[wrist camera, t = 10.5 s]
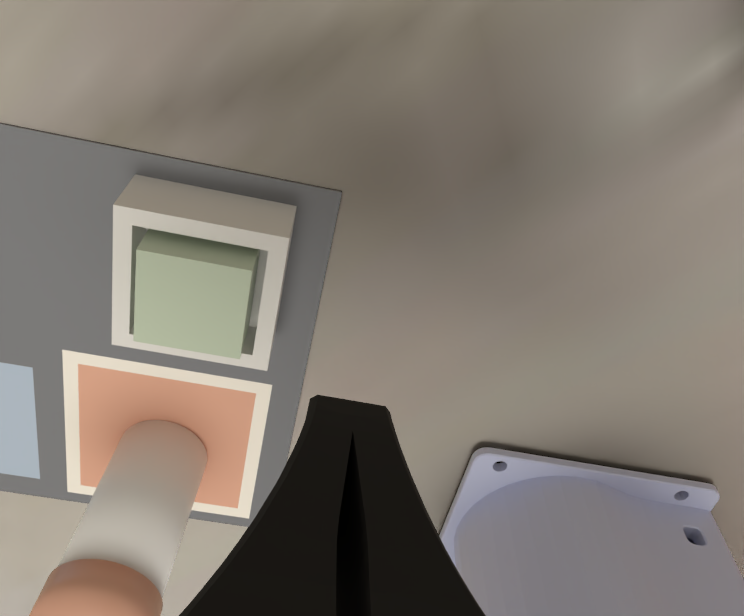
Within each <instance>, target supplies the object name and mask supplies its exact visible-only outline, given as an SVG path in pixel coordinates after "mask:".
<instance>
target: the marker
mask: <svg viewBox="0 0 744 616" xmlns="http://www.w3.org/2000/svg"><path fill="white" fill-rule="evenodd" d="M206 464H207V452H206V449H205V447H204V445H203V443H202V442H201V440H200V439H199V438H198V437H197V436H196V435H195V434H194V433H193V432H191V431H190V430H188V429H187V428H185V427H183V426H181V425H179V424H176V423H173V422H169V421H164V420H146V421H142V422H139V423H136V424H134V425H132V426H131V427H129V428H128V429H127V430H126V431H125V432H124V434H123V435H122V437H121V439H120V441H119V443H118V445H117V447H116V450H115V452H114V454H113V456H112V458H111V460H110V462H109V464H108V466H107V468H106V470H105V472H104V474H103V476H102V478H101V480H100V482H99V484H98V486H97V488H96V490H95V492H94V494H93V496H92V498H91V500H90V502H89V504H88V506H87V508H86V510H85V512H84V514H83V516H82V518H81V520H80V522H79V524H78V526H77V528H76V530H75V532H74V534H73V536H72V538H71V540H70V542H69V544H68V547H67V549H66V551H65V553H64V555H63V557H62V559H61V561H60V563H59V565H58V567H57V568H56V569H54V570H53V571H52V572H51V574H50V575H49V577H48V579H47V581H46V583H45V585H44V587H43V589H42V591H41V593H40V595H39V597H38V599H37V601H36V603H35V605H34V607H33V609H32V611H31V613H30V615H29V616H160V614H161V611H162V607H163V602H162V597H163V594H164V591H165V588H166V585H167V582H168V579H169V576H170V573H171V570H172V567H173V564H174V561H175V558H176V555H177V552H178V549H179V546H180V543H181V540H182V537H183V534H184V531H185V528H186V525H187V522H188V519H189V516H190V513H191V510H192V507H193V504H194V501H195V498H196V495H197V492H198V489H199V486H200V483H201V480H202V476H203V473H204V470H205V467H206Z"/></svg>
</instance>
